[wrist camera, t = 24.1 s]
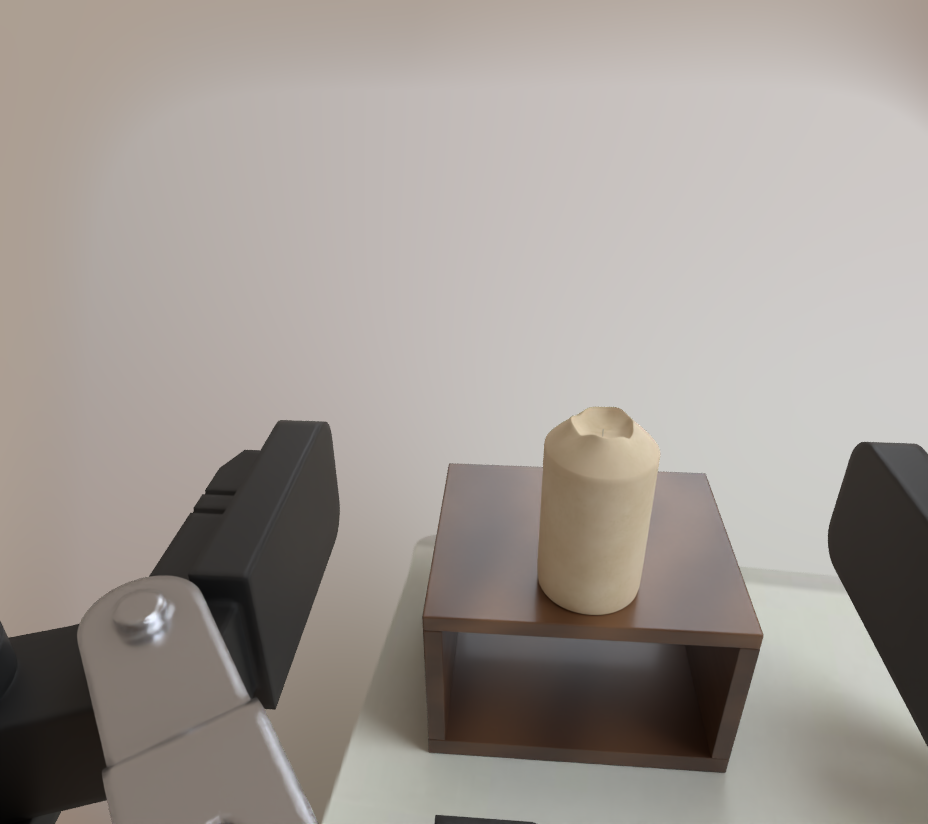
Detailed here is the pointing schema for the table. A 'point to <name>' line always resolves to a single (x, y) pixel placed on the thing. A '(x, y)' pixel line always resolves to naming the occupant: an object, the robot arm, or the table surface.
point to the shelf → (585, 699)
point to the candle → (595, 510)
